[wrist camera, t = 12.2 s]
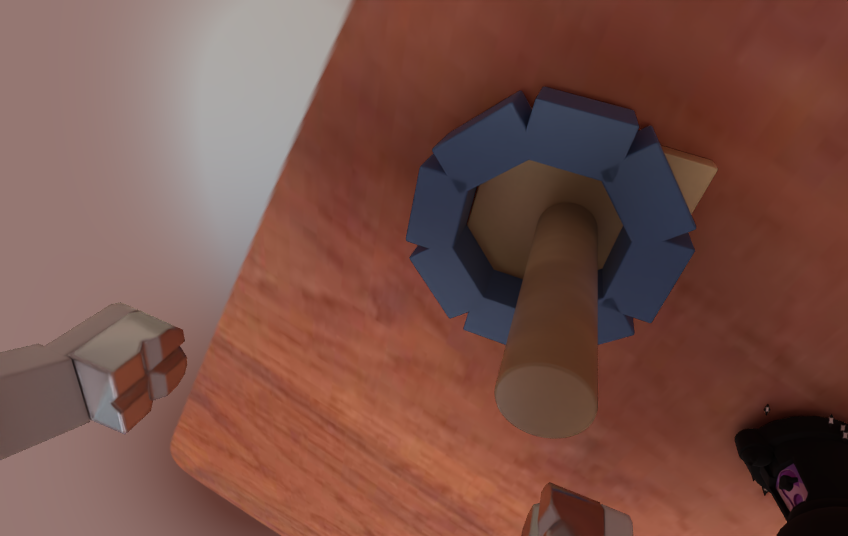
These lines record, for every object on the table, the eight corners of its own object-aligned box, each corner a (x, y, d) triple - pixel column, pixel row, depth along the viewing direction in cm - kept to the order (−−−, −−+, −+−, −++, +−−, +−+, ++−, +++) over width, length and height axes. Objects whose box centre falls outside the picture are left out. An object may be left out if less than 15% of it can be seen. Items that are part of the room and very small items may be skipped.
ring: (733, 136, 16) (752, 156, 14) (613, 348, 21) (614, 384, 19) (455, 62, 18) (437, 71, 16) (409, 277, 23) (392, 304, 21)
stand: (713, 160, 17) (839, 342, 8) (619, 321, 22) (636, 554, 13) (506, 99, 19) (421, 200, 10) (457, 264, 23) (367, 440, 14)
